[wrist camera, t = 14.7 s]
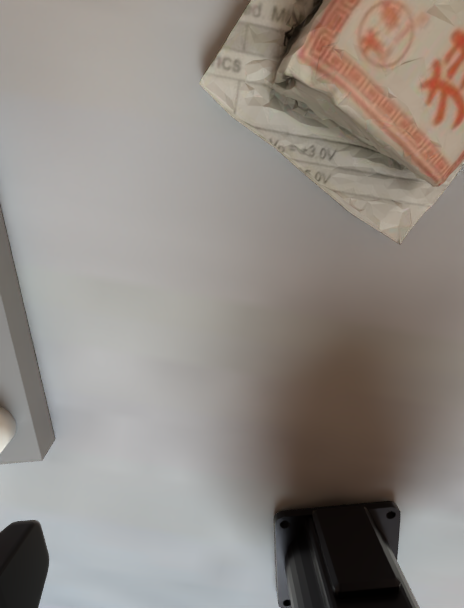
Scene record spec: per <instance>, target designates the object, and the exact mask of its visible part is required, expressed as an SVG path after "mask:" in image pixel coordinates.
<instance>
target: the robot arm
mask: <svg viewBox="0 0 464 608" xmlns="http://www.w3.org/2000/svg"><path fill="white" fill-rule="evenodd" d="M390 511H391V512H390ZM388 512H389V513H388ZM282 521H286V522H282ZM399 527H400V511H399V509H398V507H397V505H396V504H395V503H394V502H390V501H387V502H375V503H364V504H353V505H342V506H330V507H319V508H308V509H297V510H285V511H280V512H278V513H277V514H276V515H275V516H274V534H275V557H276V580H277V598H278V604H279V607H281V608H419V606H418V604H417V601H416V599H415V597H414V595H413V593H412V591H411V589H410V587H409V585H408V583H407V581H406V579H405V577H404V575H403V572H402V570H401V568H400V566H399V564H398V562H397V554H398V541H399ZM48 567H49V554H48V550H47V546H46V543H45V539H44V535H43V531H42V528H41V525H40V523H39V522H38V521H36V520H27V521H17V522H13V523H11V524H10V525H9V526H7V527H6V528H5V529H4V530H3V531H1V532H0V608H38V606H39V603H40V599H41V595H42V591H43V588H44V584H45V580H46V576H47V572H48Z"/></svg>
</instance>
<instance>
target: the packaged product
mask: <svg viewBox="0 0 464 608" xmlns="http://www.w3.org/2000/svg"><path fill="white" fill-rule="evenodd" d="M199 84H200V85H201V86H202V87H203V88H204V89H205V90H206V91H207V92H208V93H209V94H210V95H211V96H212V97H213V98H214V99H215V100H216V101H217V102H218V103H219V104H220V105H221V106H222V107H223V108H224V109H225V110H226V111H227V113H228V114H229V115H230V116H231V117H233V118H234V119H236V120H237V121H238V122H240V123H241V124H242V125H244V126H245V127H247V128H248V129H249V130H251V131H252V132H253V133H255V134H256V135H258V136H259V137H260V138H262V139H263V140H264V141H266V142H267V143H269V144H270V145H271V146H273V147H274V148H276V149H277V150H278V151H279V152H280V153H281V154H282V155H283V156H285V157H286V158H287V159H288V160H289V161H290V162H291V163H292V164H294V165H295V166H296V167H297V168H298V169H299V170H300V171H301V172H303V173H304V174H305V175H306V176H307V177H308V178H309V179H311V180H312V181H313V182H314V183H315V184H317V185H318V186H319V187H320V188H321V189H323V190H324V191H325V192H326V193H327V194H328V195H330V196H331V197H332V198H333V199H334V200H336V201H337V202H338V203H339V204H340V205H342V206H343V207H344V208H345V209H346V210H348V211H349V212H350V213H351V214H353V215H354V216H356V217H357V218H359V219H361V220H362V221H364V222H365V223H367V224H368V225H370V226H372V227H373V228H375V229H376V230H378V231H379V232H381V233H383V234H384V235H386V236H387V237H389V238H390V239H392V240H394V241H395V242H397V243H399V244H401V242H402V241H403V239H404V238H405V236H406V235H407V234H408V232H409V231H410V230H411V228H412V227H413V226H414V225H415V224H416V222H417V221H418V220H419V219H420V217H421V216H422V215H423V214H424V213H425V212H426V211H427V210H428V209H429V208H430V207H431V206H432V205H433V204H434V203H435V202H436V200H437V199H438V198H439V197H440V195H441V194H442V193H443V191H444V190H445V189H446V188H447V186H448V185H449V184H450V183H451V181H452V180H453V179H454V177H455V176H456V175H457V173H458V171H459V170H460V169H461V167H462V166H463V165H464V0H251V1H250V3H249V4H248V6H247V7H246V9H245V11H244V12H243V14H242V15H241V17H240V19H239V20H238V22H237V23H236V25H235V27H234V28H233V30H232V31H231V33H230V34H229V36H228V38H227V40H226V41H225V43H224V44H223V46H222V47H221V49H220V51H219V52H218V54H217V55H216V57H215V58H214V60H213V62H212V63H211V65H210V66H209V68H208V69H207V71H206V73H205V74H204V76H203V77H202V79H201V81H200V83H199Z"/></svg>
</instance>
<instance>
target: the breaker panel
mask: <svg viewBox="0 0 464 608" xmlns="http://www.w3.org/2000/svg"><path fill="white" fill-rule="evenodd" d="M54 441H55V437H54V433H53V428H52V424H51V420H50V416H49V411H48V407H47V403H46V399H45V394H44V390H43V386H42V381H41V377H40V373H39V369H38V364H37V360H36V356H35V352H34V347H33V343H32V339H31V335H30V330H29V326H28V322H27V317H26V313H25V309H24V305H23V300H22V296H21V292H20V288H19V283H18V279H17V275H16V271H15V266H14V262H13V258H12V253H11V249H10V245H9V241H8V236H7V232H6V228H5V224H4V219H3V215H2V211H1V206H0V464H9V463H21V462H33V461H42V460H43V459H44V457H45V455H46V454H47V452H48V450H49V449H50V447H51V445H52V444H53V442H54Z"/></svg>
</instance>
